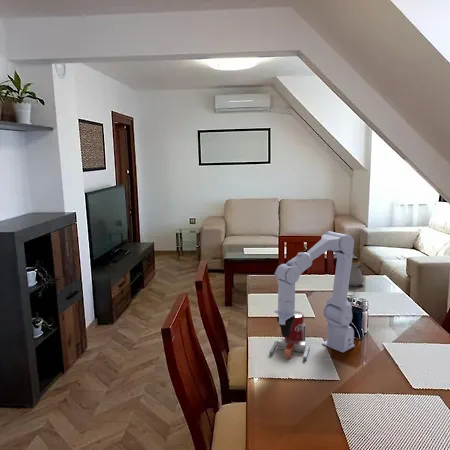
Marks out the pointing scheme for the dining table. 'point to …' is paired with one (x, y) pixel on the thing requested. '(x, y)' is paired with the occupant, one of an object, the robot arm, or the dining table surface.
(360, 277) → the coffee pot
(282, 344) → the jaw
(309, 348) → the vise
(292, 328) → the soda can
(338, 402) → the dining table surface
